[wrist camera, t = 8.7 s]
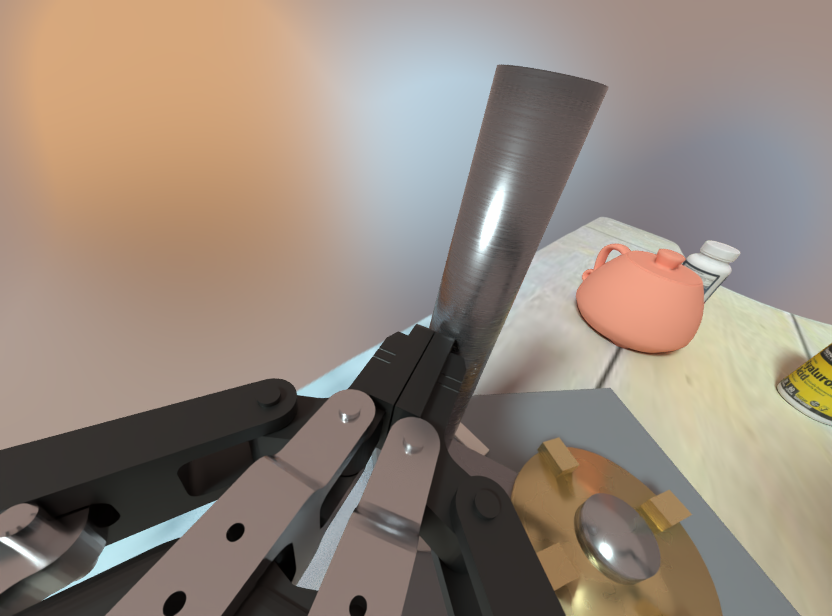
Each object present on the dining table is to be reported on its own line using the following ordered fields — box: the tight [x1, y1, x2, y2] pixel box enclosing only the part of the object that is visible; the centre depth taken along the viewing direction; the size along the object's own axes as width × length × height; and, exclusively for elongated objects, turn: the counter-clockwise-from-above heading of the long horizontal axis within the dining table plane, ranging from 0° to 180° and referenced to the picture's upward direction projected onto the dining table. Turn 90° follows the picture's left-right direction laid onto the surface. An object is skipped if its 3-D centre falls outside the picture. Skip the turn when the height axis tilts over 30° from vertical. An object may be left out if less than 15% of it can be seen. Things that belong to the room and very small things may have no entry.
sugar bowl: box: [576, 244, 704, 353], centre depth 35 cm, size 12×14×10 cm
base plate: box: [372, 388, 801, 616], centre depth 16 cm, size 20×20×2 cm
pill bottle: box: [682, 240, 740, 303], centre depth 45 cm, size 5×5×9 cm
